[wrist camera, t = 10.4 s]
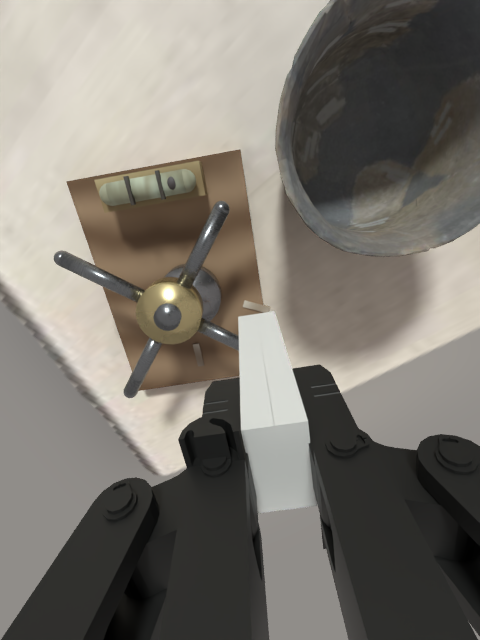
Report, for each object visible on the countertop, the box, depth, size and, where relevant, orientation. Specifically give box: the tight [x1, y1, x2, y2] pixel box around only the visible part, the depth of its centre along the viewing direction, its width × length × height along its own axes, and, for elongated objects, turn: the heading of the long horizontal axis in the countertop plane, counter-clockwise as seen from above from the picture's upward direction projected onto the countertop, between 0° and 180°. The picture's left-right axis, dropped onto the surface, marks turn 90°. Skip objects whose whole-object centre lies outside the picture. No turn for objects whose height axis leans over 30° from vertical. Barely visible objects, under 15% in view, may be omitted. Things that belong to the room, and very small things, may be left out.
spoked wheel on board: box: [67, 150, 270, 391], centre depth 36 cm, size 26×19×7 cm
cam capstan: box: [54, 201, 239, 398], centre depth 34 cm, size 23×22×9 cm
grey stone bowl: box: [275, 0, 480, 257], centre depth 27 cm, size 18×18×15 cm
